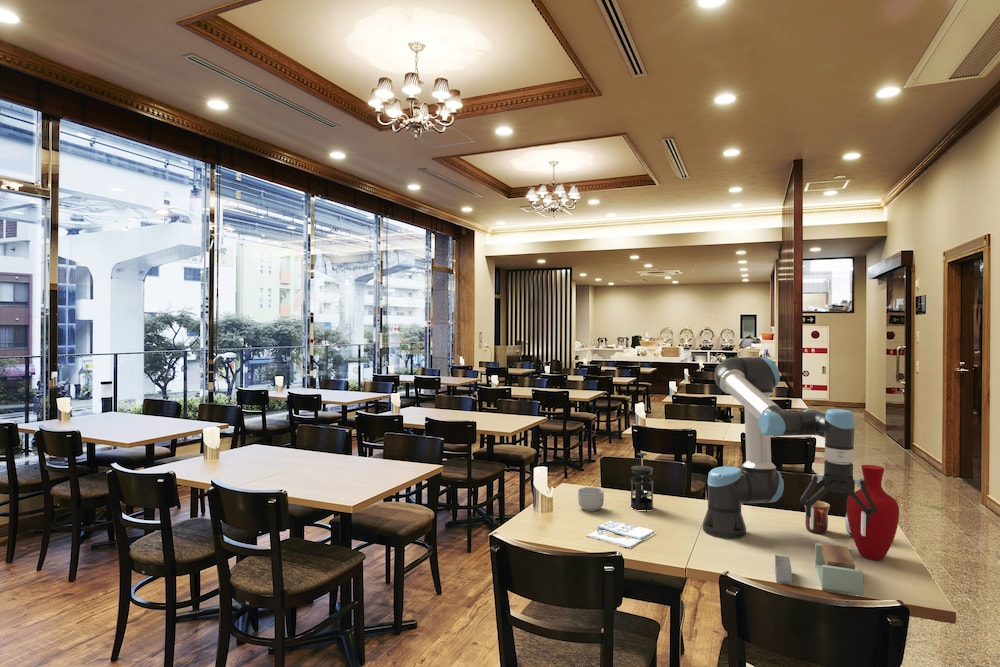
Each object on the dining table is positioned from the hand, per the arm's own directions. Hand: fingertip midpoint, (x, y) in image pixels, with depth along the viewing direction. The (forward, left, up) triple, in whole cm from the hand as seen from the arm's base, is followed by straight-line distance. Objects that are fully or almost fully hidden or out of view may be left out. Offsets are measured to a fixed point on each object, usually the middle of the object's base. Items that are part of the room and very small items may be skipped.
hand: (836, 531), depth 177 cm
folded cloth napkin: (-68, +12, -15) cm, 70 cm away
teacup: (-86, +39, -15) cm, 95 cm away
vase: (+13, +25, -15) cm, 32 cm away
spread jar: (+14, +47, -15) cm, 51 cm away
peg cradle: (0, 0, -15) cm, 15 cm away
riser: (-15, -4, -15) cm, 21 cm away
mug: (-1, +44, -15) cm, 46 cm away
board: (0, 0, -10) cm, 10 cm away
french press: (-66, +47, -15) cm, 82 cm away
